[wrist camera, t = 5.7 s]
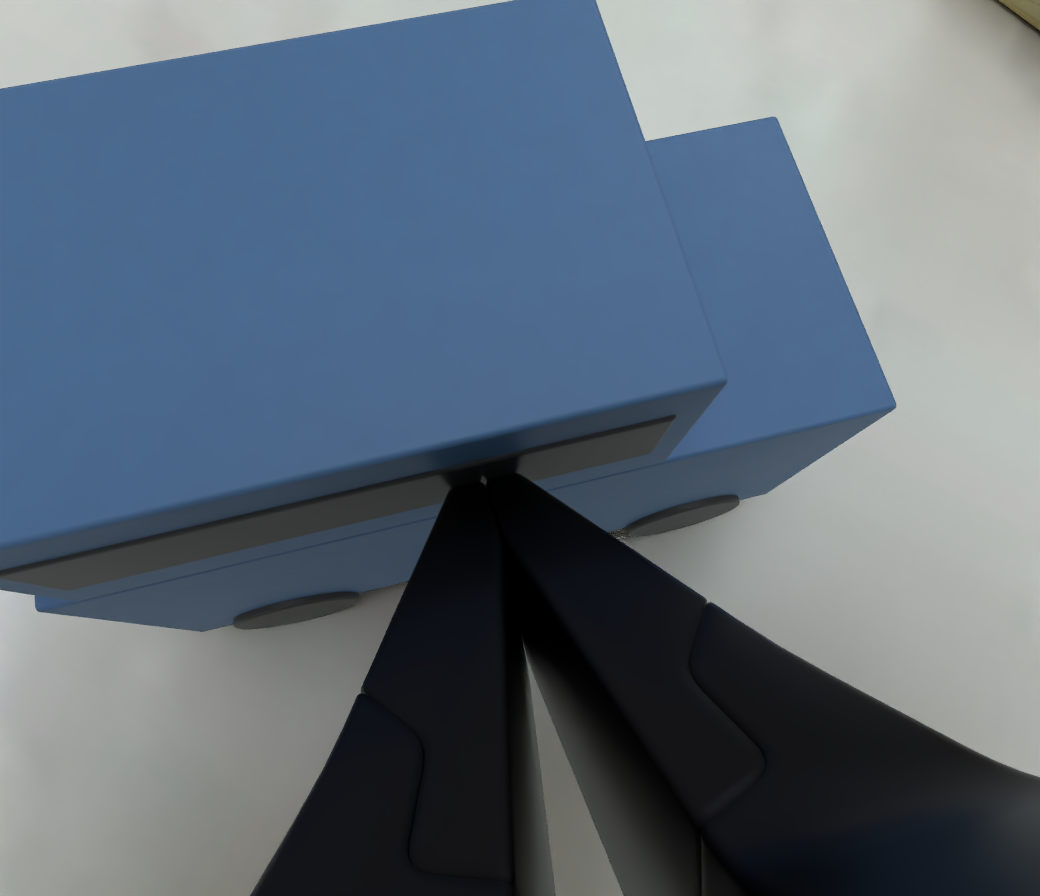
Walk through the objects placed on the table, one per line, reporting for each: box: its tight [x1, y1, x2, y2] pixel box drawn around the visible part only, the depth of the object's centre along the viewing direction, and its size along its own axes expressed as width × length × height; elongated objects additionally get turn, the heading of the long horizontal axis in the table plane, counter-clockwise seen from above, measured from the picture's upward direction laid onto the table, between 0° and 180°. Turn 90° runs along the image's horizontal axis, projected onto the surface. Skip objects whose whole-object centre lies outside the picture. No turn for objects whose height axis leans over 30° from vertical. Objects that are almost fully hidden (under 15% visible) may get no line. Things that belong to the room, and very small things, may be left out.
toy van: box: [0, 0, 896, 632], centre depth 12 cm, size 6×12×9 cm, turn 104°
